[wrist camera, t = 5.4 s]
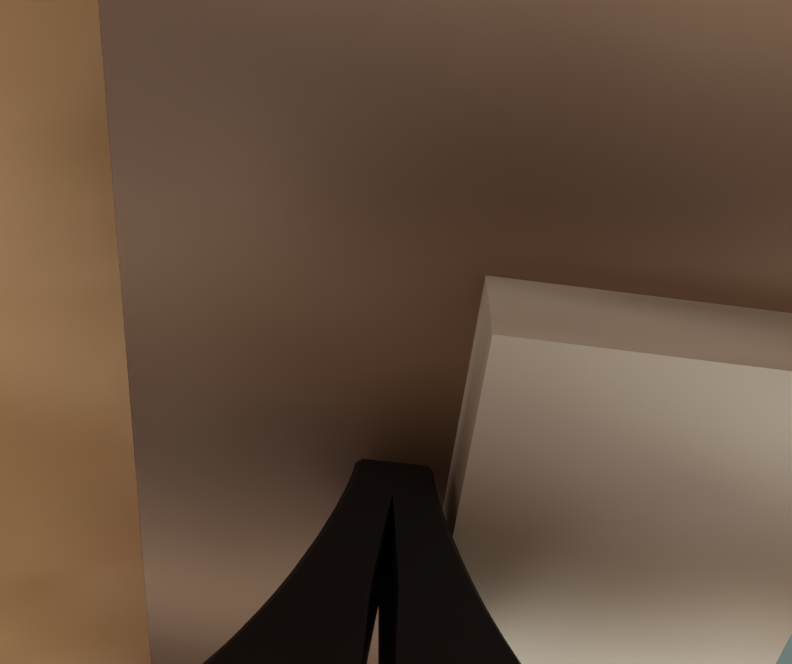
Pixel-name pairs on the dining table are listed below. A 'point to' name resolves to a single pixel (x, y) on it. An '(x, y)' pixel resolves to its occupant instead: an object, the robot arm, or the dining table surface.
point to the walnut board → (398, 234)
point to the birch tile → (626, 476)
